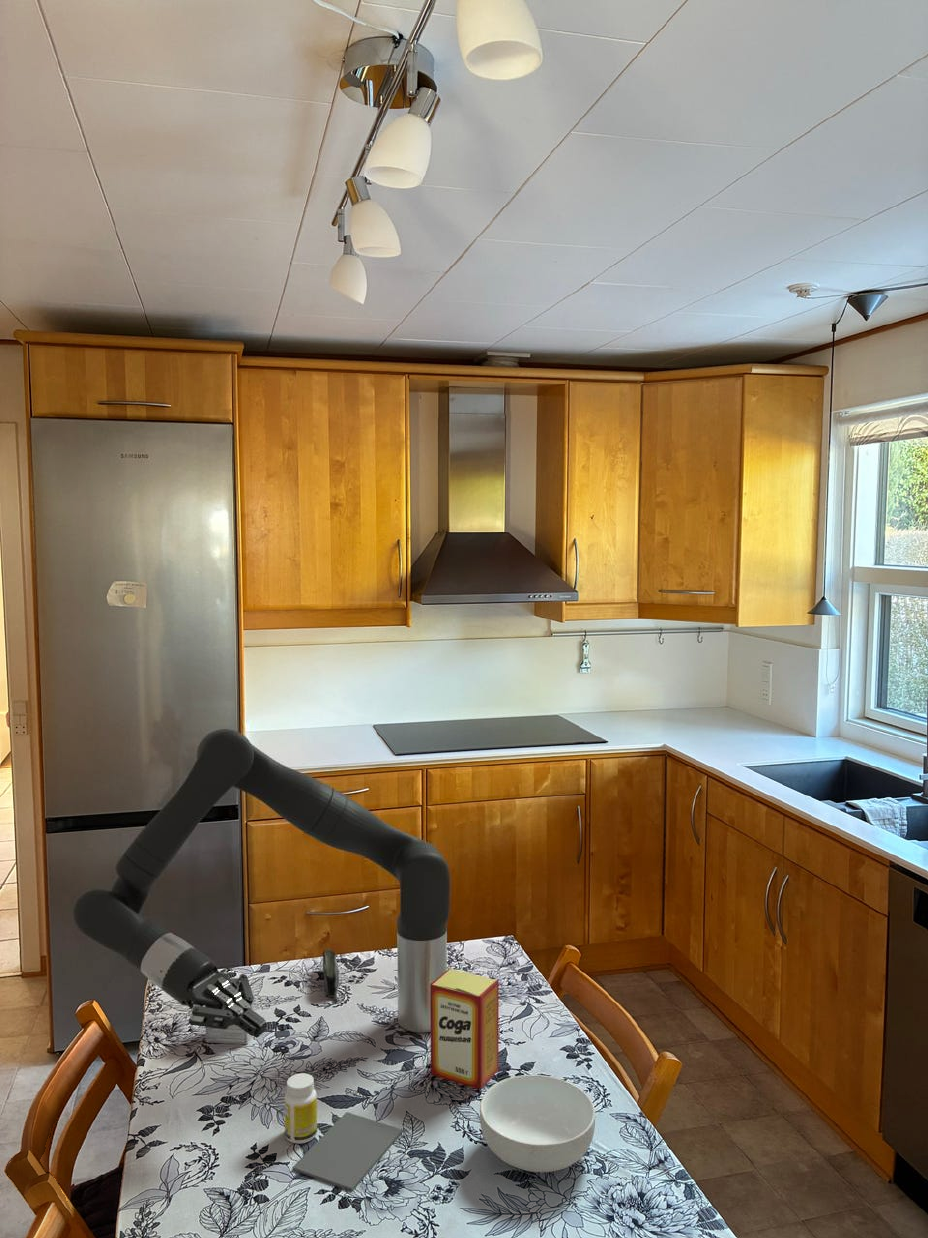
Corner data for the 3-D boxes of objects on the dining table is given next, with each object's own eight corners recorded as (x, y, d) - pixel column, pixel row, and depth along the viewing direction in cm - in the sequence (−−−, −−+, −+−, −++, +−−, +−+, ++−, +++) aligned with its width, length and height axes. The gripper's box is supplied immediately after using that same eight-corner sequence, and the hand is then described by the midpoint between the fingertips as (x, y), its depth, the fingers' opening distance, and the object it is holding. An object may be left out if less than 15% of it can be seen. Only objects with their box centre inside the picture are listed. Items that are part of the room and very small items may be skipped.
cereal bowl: (563, 1211, 118) (564, 1160, 117) (457, 1166, 127) (457, 1118, 126) (613, 1140, 132) (613, 1094, 132) (515, 1104, 141) (515, 1061, 140)
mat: (292, 1170, 126) (292, 1167, 126) (346, 1114, 138) (346, 1112, 138) (352, 1191, 121) (352, 1188, 121) (402, 1132, 134) (402, 1129, 134)
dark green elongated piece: (320, 948, 188) (325, 979, 173) (335, 947, 188) (340, 977, 174) (321, 972, 188) (325, 1004, 173) (335, 970, 188) (341, 1002, 174)
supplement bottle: (323, 1130, 135) (322, 1076, 134) (305, 1148, 130) (304, 1093, 130) (297, 1121, 137) (296, 1068, 136) (278, 1139, 132) (277, 1085, 132)
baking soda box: (430, 1074, 149) (430, 982, 148) (449, 1055, 155) (449, 966, 154) (480, 1090, 145) (480, 995, 144) (498, 1070, 150) (498, 978, 149)
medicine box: (255, 1032, 163) (255, 986, 162) (247, 1045, 158) (246, 998, 158) (214, 1030, 164) (213, 984, 163) (204, 1043, 159) (203, 996, 159)
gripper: (155, 966, 134) (243, 1032, 128) (212, 932, 146) (295, 991, 140) (141, 1007, 135) (227, 1073, 129) (199, 970, 147) (280, 1029, 142)
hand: (262, 1030), depth 135 cm, fingers closed
